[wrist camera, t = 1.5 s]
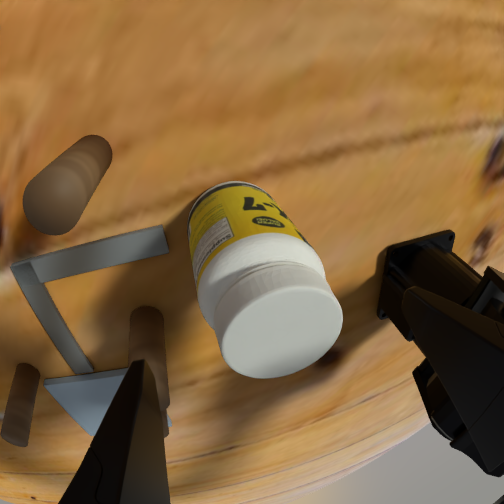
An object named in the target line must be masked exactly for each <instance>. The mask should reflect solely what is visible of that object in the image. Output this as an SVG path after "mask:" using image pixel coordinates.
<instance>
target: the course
mask: <svg viewBox="0 0 504 504" xmlns="http://www.w3.org/2000/svg"><path fill="white" fill-rule="evenodd" d="M111 161H112V149H111V147H110V145H109V143H108V142H107V141H106V140H105V139H104V138H103V137H101V136H98V135H88V136H85V137H83V138H81V139H80V140H79V141H77V142H76V143H75V144H73V145H72V146H71V147H70V148H68V149H67V150H66V151H65V152H63V153H62V154H61V155H60V156H58V157H57V158H56V159H55V160H54V161H52V162H51V163H50V164H49V165H48V166H46V167H45V168H44V169H43V170H42V171H41V172H40V173H38V174H37V175H36V176H35V177H34V178H33V179H32V180H31V181H30V182H29V183H28V185H27V186H26V188H25V191H24V195H23V208H24V212H25V215H26V217H27V219H28V220H29V222H30V223H31V224H32V225H33V226H34V227H35V228H36V229H37V230H39V231H40V232H42V233H45V234H48V235H61V234H64V233H67V232H69V231H70V230H71V229H72V228H73V227H74V226H75V225H76V224H77V222H78V220H79V219H80V217H81V215H82V213H83V211H84V209H85V207H86V206H87V204H88V202H89V200H90V198H91V197H92V195H93V193H94V191H95V189H96V188H97V186H98V184H99V183H100V181H101V179H102V178H103V176H104V174H105V173H106V171H107V169H108V168H109V166H110V164H111ZM167 253H169V248H168V245H167V241H166V237H165V233H164V230H163V226H162V225H158V226H154V227H149V228H145V229H141V230H137V231H132V232H128V233H124V234H120V235H116V236H112V237H108V238H104V239H100V240H96V241H92V242H88V243H85V244H81V245H77V246H73V247H69V248H66V249H62V250H58V251H55V252H51V253H47V254H44V255H40V256H37V257H33V258H29V259H26V260H22V261H19V262H16V263H12V265H11V269H12V271H13V273H14V275H15V277H16V279H17V281H18V283H19V285H20V287H21V289H22V291H23V292H24V294H25V296H26V298H27V300H28V301H29V303H30V305H31V307H32V308H33V310H34V312H35V313H36V315H37V317H38V319H39V320H40V322H41V323H42V325H43V327H44V328H45V330H46V331H47V333H48V335H49V336H50V338H51V339H52V341H53V342H54V344H55V345H56V347H57V348H58V350H59V351H60V353H61V354H62V356H63V357H64V359H65V360H66V361H67V363H68V364H69V366H70V367H71V368H72V370H73V371H74V372H75V374H81V373H88V372H94V368H93V366H92V365H91V363H90V362H89V360H88V359H87V357H86V356H85V354H84V353H83V351H82V350H81V348H80V346H79V345H78V343H77V342H76V340H75V338H74V337H73V335H72V333H71V332H70V330H69V328H68V327H67V325H66V323H65V322H64V320H63V318H62V316H61V315H60V313H59V311H58V309H57V307H56V306H55V304H54V302H53V300H52V298H51V296H50V294H49V293H48V291H47V289H46V287H45V285H44V282H48V281H52V280H56V279H60V278H64V277H68V276H72V275H77V274H81V273H85V272H89V271H93V270H98V269H102V268H106V267H110V266H115V265H119V264H123V263H127V262H132V261H136V260H140V259H145V258H149V257H153V256H158V255H162V254H167ZM139 359H145V360H146V361H147V363H148V365H149V366H150V368H151V370H152V372H153V374H154V377H155V381H156V387H157V393H158V399H159V404H160V410H161V416H162V421H163V433H164V438H165V437H167V436H168V434H169V428H168V420H167V410H166V408H168V406H169V405H170V398H169V388H168V378H167V366H166V354H165V340H164V323H163V316H162V314H161V312H160V311H159V310H157V309H155V308H153V307H149V306H143V307H139V308H137V309H135V310H134V311H133V312H132V314H131V319H130V336H129V363H128V368H129V366H130V364H131V363H132V361H134V360H139ZM39 379H40V373H39V372H38V370H37V369H36V368H34V367H33V366H31V365H28V364H24V363H21V364H19V365H18V366H17V368H16V372H15V375H14V379H13V382H12V386H11V390H10V394H9V398H8V402H7V406H6V410H5V415H4V419H3V424H2V429H1V436H2V438H3V439H5V440H6V441H7V442H9V443H11V444H13V445H16V446H20V447H26V446H27V445H28V439H29V432H30V426H31V420H32V414H33V408H34V403H35V398H36V393H37V388H38V384H39Z"/></svg>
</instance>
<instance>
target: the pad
mask: <svg viewBox="0 0 504 504" xmlns="http://www.w3.org/2000/svg"><path fill="white" fill-rule="evenodd" d="M127 370H128V368H124V369H118V370H111V371H105V372H98V373H92V374H85V375H77V376H69V377H61V378H53V379H45V380H44V385H43V386H44V387H45V388H46V389H47V390H48V391H49V393H50V394H51V395H52V396H53V397H54V398H55V399H56V400H57V402H58V403H59V404H60V405H61V406H62V407H63V408H64V409H65V410H66V411H67V412H68V413H69V415H70V416H71V417H72V418H73V419H74V420H75V421H76V422H77V423H78V424H79V425H80V426H81V427H82V428H83V429H84V430H85V431H86V432H87V433H88V434H89V435H90V436H94V435H95V434H96V432H97V430H98V428H99V426H100V424H101V422H102V420H103V418H104V415H105V413H106V411H107V409H108V407H109V405H110V403H111V401H112V399H113V397H114V395H115V393H116V392H117V390H118V388H119V386H120V384H121V382H122V380H123V378H124V376H125V374H126V372H127ZM167 420H168V427H170V426H172V422H171V419H170V418H169V416H168V415H167Z"/></svg>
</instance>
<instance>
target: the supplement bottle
mask: <svg viewBox="0 0 504 504" xmlns="http://www.w3.org/2000/svg"><path fill="white" fill-rule="evenodd" d="M187 234H188V241H189V247H190V254H191V260H192V267H193V273H194V279H195V285H196V291H197V298H198V303H199V306H200V309H201V312H202V314H203V316H204V318H205V320H206V321H207V323H208V324H209V325H210V326H211V327H212V328H213V329H214V330H215V333H216V337H217V340H218V343H219V347H220V351H221V354H222V356H223V358H224V360H225V362H226V363H227V364H228V365H229V367H231V368H232V369H233V370H234V371H236V372H237V373H239V374H242V375H245V376H248V377H252V378H262V379H266V378H276V377H281V376H285V375H289V374H292V373H295V372H297V371H300V370H302V369H304V368H306V367H307V366H309V365H311V364H312V363H314V362H315V361H317V360H318V359H319V358H321V357H322V356H323V355H324V354H325V353H326V352H327V351H328V350H329V349H330V348H331V347H332V345H333V344H334V343H335V341H336V339H337V338H338V336H339V334H340V331H341V328H342V322H343V315H342V309H341V306H340V304H339V302H338V300H337V299H336V297H335V296H334V294H333V292H332V291H331V289H330V286H329V285H328V283H327V281H326V280H325V272H324V268H323V265H322V262H321V260H320V258H319V257H318V255H317V254H316V252H315V250H314V249H313V248H312V246H311V245H310V244H309V243H308V242H307V241H306V239H305V238H304V237H303V236H302V234H301V233H300V232H299V231H298V229H297V228H296V227H295V226H294V224H293V223H292V222H291V220H290V219H289V218H288V217H287V215H286V214H285V213H284V212H283V211H282V209H281V208H280V207H279V206H278V205H277V203H276V202H275V201H274V200H273V198H272V197H271V196H270V195H269V194H268V193H267V192H266V191H264V190H263V189H261V188H260V187H258V186H256V185H253V184H250V183H247V182H241V181H230V182H225V183H221V184H218V185H216V186H214V187H212V188H210V189H208V190H207V191H206V192H204V193H203V194H202V195H201V196H200V197H199V198H198V199H197V201H196V202H195V204H194V205H193V207H192V209H191V211H190V214H189V217H188V223H187Z"/></svg>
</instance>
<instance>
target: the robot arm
mask: <svg viewBox="0 0 504 504" xmlns="http://www.w3.org/2000/svg"><path fill="white" fill-rule="evenodd" d="M454 239H455V233H454V232H453V231H451V230H446V231H442V232H439V233H435V234H431V235H428V236H424V237H421V238H417V239H413V240H410V241H406V242H402V243H399V244H395V245H392V246H391V247H390V248H389V249H388V250H387V255H386V262H385V268H384V275H383V281H382V287H381V292H380V298H379V303H378V309H377V316H378V317H379V319H381V320H383V319H386V318H388V317H389V319H390V320H391V321H392V322H393V324H394V325H395V326H396V327H397V329H398V330H399V331H400V333H401V334H402V335H403V336H404V338H405V339H406V340H407V341H409V342H410V341H412V340H413V341H414V343H415V344H416V345H417V346H418V348H419V349H420V350H421V352H422V353H423V354H424V355H425V357H426V358H425V359H424V360H423V362H422V363H421V364H420V365H419V366H417V367H416V368H415V369H414V371H413V372H412V374H413V377H414V379H415V382H416V384H417V387H418V389H419V392H420V395H421V397H422V400H423V403H424V405H425V408H426V411H427V414H428V416H429V419H430V421H431V423H432V426H433V427H434V428H435V429H436V430H437V431H438V432H439V433H440V434H441V435H442V436H443V437H445V438H447V439H448V440H450V441H451V442H450V446H451V447H452V448H454V449H457V450H459V451H461V452H463V453H464V454H466V455H467V456H469V457H470V458H471V459H472V460H473V461H474V462H475V463H476V464H477V465H478V466H479V467H480V468H481V469H482V470H483V471H484V472H485V473H486V474H488V475H492V476H496V477H501V476H502V475H504V273H502V272H500V271H498V270H496V269H494V268H492V267H490V266H487V268H486V270H485V271H484V276H483V277H482V276H481V275H480V274H478V273H477V272H476V271H475V270H474V269H473V268H471V267H470V266H469V265H468V264H467V263H466V262H464V261H463V260H462V259H461V258H460V257H458V256H457V255H456V254H455V253H453V252H452V248H453V243H454ZM394 252H395V253H394ZM393 253H394V254H393ZM58 504H171V503H170V495H169V487H168V478H167V468H166V458H165V446H164V433H163V421H162V416H161V410H160V404H159V399H158V393H157V387H156V381H155V377H154V374H153V372H152V370H151V368H150V366H149V365H148V363H147V361H146V360H145V359H139V360H134V361H132V363H131V364H130V366H129V368H128V370H127V372H126V374H125V376H124V378H123V380H122V382H121V384H120V386H119V388H118V390H117V392H116V393H115V395H114V397H113V399H112V401H111V403H110V405H109V407H108V409H107V411H106V413H105V415H104V418H103V420H102V422H101V424H100V426H99V428H98V430H97V432H96V434H95V436H94V438H93V440H92V442H91V444H90V447H89V448H88V451H87V453H86V455H85V457H84V459H83V461H82V463H81V465H80V467H79V469H78V471H77V472H76V474H75V476H74V478H73V479H72V481H71V483H70V485H69V486H68V488H67V490H66V491H65V493H64V495H63V496H62V498H61V500H60V501H59V503H58ZM493 504H504V495H503V496H502V497H501V498H499V499H498V500H497V501H496V502H495V503H493Z"/></svg>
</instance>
